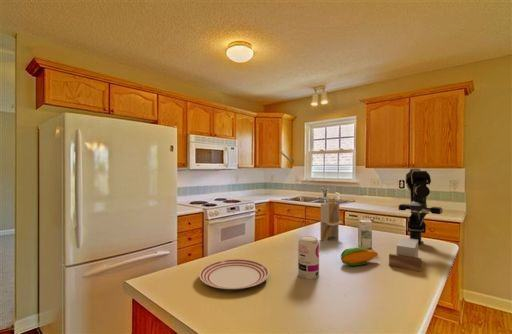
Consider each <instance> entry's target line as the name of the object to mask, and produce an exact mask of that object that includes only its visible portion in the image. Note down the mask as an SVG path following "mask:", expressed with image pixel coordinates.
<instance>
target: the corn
mask: <svg viewBox="0 0 512 334" xmlns="http://www.w3.org/2000/svg"><path fill="white" fill-rule="evenodd" d="M376 257H378V252H376V251H375V250H373V249H369V248H367V247H360V246H358V247H353V248H346V249H344V250H343V251H342V253H340V261H341V262H342V263H343V264H345V265H346V266H352V267H354V266H359V265H365V264H366V265H367V264H369V263H370V261H372V260H374V259H375V258H376Z"/></svg>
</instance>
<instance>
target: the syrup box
mask: <svg viewBox="0 0 512 334" xmlns="http://www.w3.org/2000/svg"><path fill="white" fill-rule="evenodd" d="M357 223H358V225H357V244H358V247H367V248H368V249H372V248H373V247H372V246H373V245H372V244H373V221H372V220H370V219H358V220H357Z"/></svg>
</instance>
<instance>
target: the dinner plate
mask: <svg viewBox="0 0 512 334" xmlns="http://www.w3.org/2000/svg"><path fill="white" fill-rule="evenodd" d="M269 276H270V270H269V268H268V266H266V265H265V264H263V263H261V262H259V261H257V260H256V261H255V260H252V259H245V258H244V259H243V258H230V259H222V260H218V261H215V262H212V263H209V264H207V265H205V266H204V267H203V268H202V269H201V270H200V272H199V275H198V277H199V279H200V281H201V282H202V283H203V284H205V285H207V286H210V287H212V288H216V289H220V290H243V289H247V288H252V287H255V286H258V285H260V284H262V283H263V282H265V281H266V280H267V279H268V278H269Z"/></svg>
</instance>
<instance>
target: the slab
mask: <svg viewBox="0 0 512 334" xmlns="http://www.w3.org/2000/svg"><path fill="white" fill-rule="evenodd" d="M396 254H398V255H404V256H410V257H416V258H419V244H418V240H417V239H410V237H409V238H408V237H400V239H399V241H398V243H397V244H396Z"/></svg>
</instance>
